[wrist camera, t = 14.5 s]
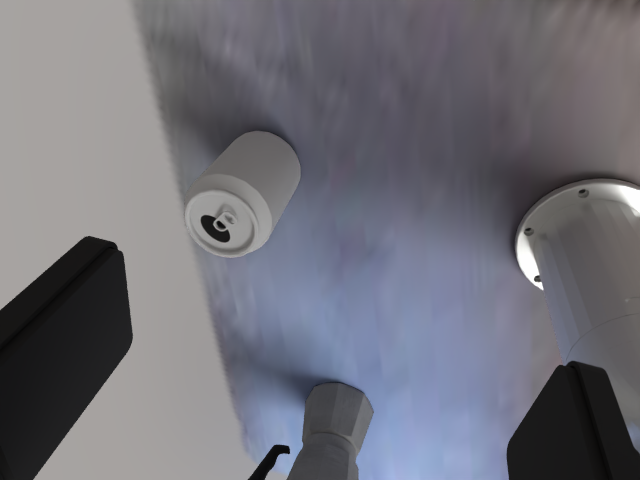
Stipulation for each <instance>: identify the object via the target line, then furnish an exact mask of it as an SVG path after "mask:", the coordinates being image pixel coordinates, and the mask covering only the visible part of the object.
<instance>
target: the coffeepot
mask: <svg viewBox="0 0 640 480" xmlns="http://www.w3.org/2000/svg"><path fill="white" fill-rule="evenodd" d="M373 413H374V411H373V409H372V407H371V404H370V402H369V400H368V399H367V397H366V396H365V395H364V394H363V393H362V392H361V391H359V390H358V389H356V388H354V387H352V386H349V385H346V384H342V383H324V384H321V385H318V386H314V388H313V390H312V391H311V392H310V395H309V396H308V398H307V400H306V403H305V414H304V425H303V436H302V442H303V448H302V449H301V451H300V452H299V454H298V456H297V458H296V460H295V462H294V464H293V467H292V469H291V471H290V473H289V476H288V478H287V480H358V467H357V465H356V463H355V462H356V457H357V455H358V453H359V452H360V449H361V447H362V444H363V441H364V438H365V435H366V433H367V430H368V427H369V424H370V421H371V419H372V416H373ZM283 453H286V454H290V449H289V446H286V445H274V446H273V447H272V449H271V450H270V451H269V452H268V454H267V455H266V457H265V458H264V459H263V461H262V462H261V463H260V464H259V466H258V467H257V469H256V470H255V471H254V473H253V474H252V475H251V476H250V478H249V479H248V480H265V478H266V475H267V473H268V472H269V471H270V470H271V469H272V468H273V467H274V465H275V462H276V459H277V457H278V455H279V454H283Z"/></svg>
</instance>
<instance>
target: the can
mask: <svg viewBox="0 0 640 480" xmlns="http://www.w3.org/2000/svg"><path fill="white" fill-rule="evenodd" d="M300 177H301V167H300V163H299V160H298V157H297V155H296V153H295V152H294V151H293V149H292V148H291V146H290V145H289V144H288V143H286V142H285V141H284V140H283V139H282V138H280V137H278V136H276V135H274V134H272V133H269V132H263V131H252V132H248V133H244V134H243V135H241V136H240V137H238V138H237V139H235V140H234V141H233V142H232V143H231V144H230V145H229V147H228V148H227V149H226V150H225V151H224V152H223V153H222V154H221V155H220V156H219V157H218V158H217V159H216V160H215V161H214V162H213V163H212V164H211V165H210V166H209V167H208V168H207V169H206V170H205V171H204V172H203V173H202V174H201V175H200V177H199V178H198V179H197V180H196V181H195V182H194V183H193V184H192V186H191V187H190V188H189V190H188V191H187V194H186V199H185V203H184V205H185V211H184V219H185V225H186V227H187V230H188V232H189V234H190V236H191V237H192V238H193V239H194V240H195V241H196V243H197V244H198V245H200V246H201V247H202V248H204V249H205V250H206V251H208V252H210V253H212V254H215V255H217V256H221V257H227V258H233V257H241V256H243V255H245V254H247V253H251V252H253V251H255V250H257V249H259V248H261V247H262V245H263V244H264V243H265V242H266V241H267V240H268V239H269V237H270V235H271V233H272V231H273V230H274V228H275V226H276V224H277V222H278V221H279V219H280V217H281V215H282V213H283V212H284V210H285V208H286V206H287V205H288V203H289V201H290V199H291V197H292V196H293V194H294V192H295V190H296V188H297V186H298V183H299V181H300Z"/></svg>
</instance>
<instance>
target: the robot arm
mask: <svg viewBox="0 0 640 480" xmlns="http://www.w3.org/2000/svg"><path fill="white" fill-rule="evenodd" d="M582 189H584V190H583V191H580V190H582ZM526 228H528V229H526ZM515 253H516V259H517V261H518V264H519V267H520V269H521V271H522V272H523V274H524V275H525V277H526V278H527V279H528V280H529V281H530V282H531V283H532V284H533V285H535V286H537V287H538V288H540V289H541V290H543V291H544V294H545V298H546V302H547V305H548V309H549V313H550V317H551V320H552V324H553V328H554V332H555V335H556V339H557V343H558V347H559V350H560V354H561V358H562V362H563V365H559V366H558V367H557V368H556V369H555V371H554V372H553V374H552V375H551V377H550V378H549V380H548V381H547V383H546V385H545V386H544V388H543V389H542V391H541V392H540V394H539V395H538V397H537V399H536V400H535V402H534V403H533V405H532V406H531V408H530V409H529V411H528V413H527V414H526V416H525V417H524V419H523V420H522V422H521V423H520V425H519V427H518V428H517V430H516V431H515V433H514V434H513V436H512V437H511V439H510V441H509V444H508V447H507V465H508V474H509V480H640V187H639V186H637V185H635V184H632V183H630V182H625V181H621V180H616V179H601V178H599V179H589V180H582V181H578V182H574V183H571V184H567V185H565V186H563V187H560V188H558V189H556V190H554V191H552V192H550V193H549V194H547V195H546V196H544V197H542V198H541V199H540V200H539V201H538V202H536V203H535V204H534V205H533V206H532V207H531V208H530V209H529V211H528V212H527V213H526V214H525V216H524V217H523V219H522V221H521V222H520V224H519V226H518V229H517V233H516V236H515ZM132 339H133V334H132V325H131V317H130V308H129V299H128V290H127V281H126V273H125V264H124V256H123V253H122V252H121V251H119V250H118V248H117V245H116V244H115V243H114V242H111V241H107V240H103V239H99V238H95V237H91V236H88V237H85V238H83V239H82V240H80V241H79V242H78V243H77V244H76V245H75V246H74V247H72V248H71V249H70V250H69V251H68V252H67V253H65V254H64V255H63V256H62V257H61V258H60V259H59V260H58V261H56V262H55V263H54V264H53V265H52V266H51V267H50V268H48V269H47V270H46V271H45V272H44V273H43V274H41V275H40V276H39V277H38V278H37V279H36V280H35V281H33V282H32V283H31V284H30V285H29V286H28V287H27V288H25V289H24V290H23V291H22V292H21V293H20V294H18V295H17V296H16V297H15V298H14V299H13V300H12V301H10V302H9V303H8V304H7V305H6V306H5V307H4V308H2V309H1V310H0V480H33V479H34V478H35V476H36V475H37V474H38V472H39V471H40V470H41V468H42V467H43V466H44V464H45V463H46V461H47V460H48V459H49V457H50V456H51V455H52V453H53V452H54V451H55V449H56V448H57V447H58V445H59V444H60V443H61V441H62V440H63V438H64V437H65V436H66V434H67V433H68V432H69V430H70V429H71V428H72V426H73V425H74V424H75V422H76V421H77V420H78V418H79V417H80V415H81V414H82V413H83V412H84V410H85V409H86V407H87V406H88V405H89V403H90V402H91V401H92V399H93V398H94V397H95V395H96V394H97V392H98V391H99V390H100V389H101V387H102V386H103V384H104V383H105V382H106V380H107V379H108V378H109V376H110V375H111V374H112V372H113V371H114V370H115V368H116V367H117V365H118V364H119V363H120V361H121V360H122V359H123V357H124V356H125V355H126V353H127V352H128V350H129V348H130V346H131V343H132Z"/></svg>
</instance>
